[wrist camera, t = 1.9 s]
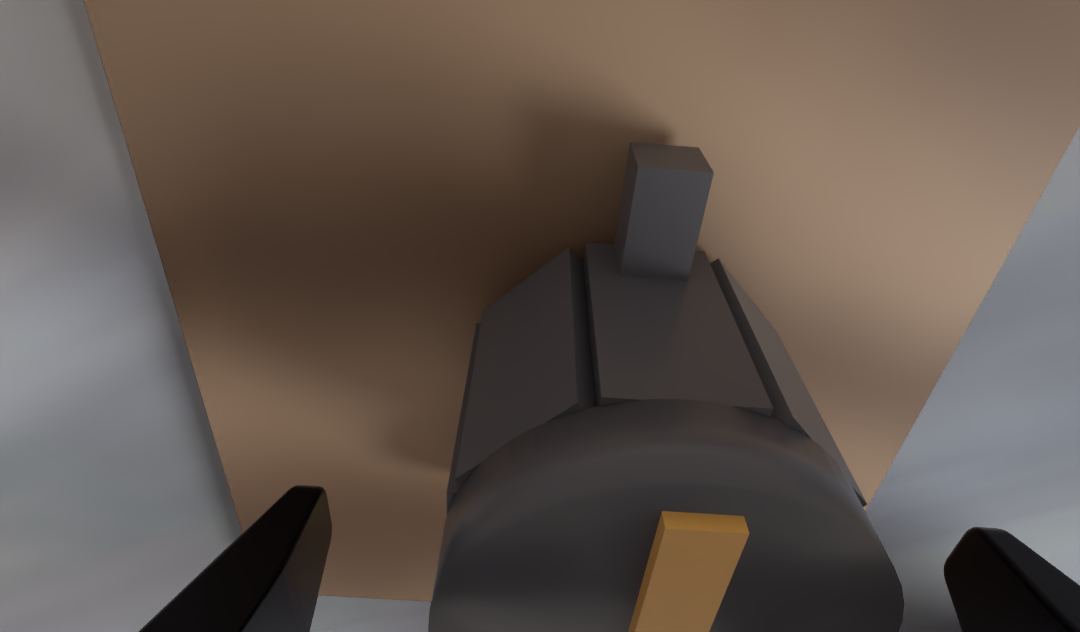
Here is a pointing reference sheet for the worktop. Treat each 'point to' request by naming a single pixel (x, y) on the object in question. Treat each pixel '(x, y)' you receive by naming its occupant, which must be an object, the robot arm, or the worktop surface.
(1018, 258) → the worktop surface
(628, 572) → the grey dial knob
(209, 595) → the robot arm
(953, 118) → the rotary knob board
